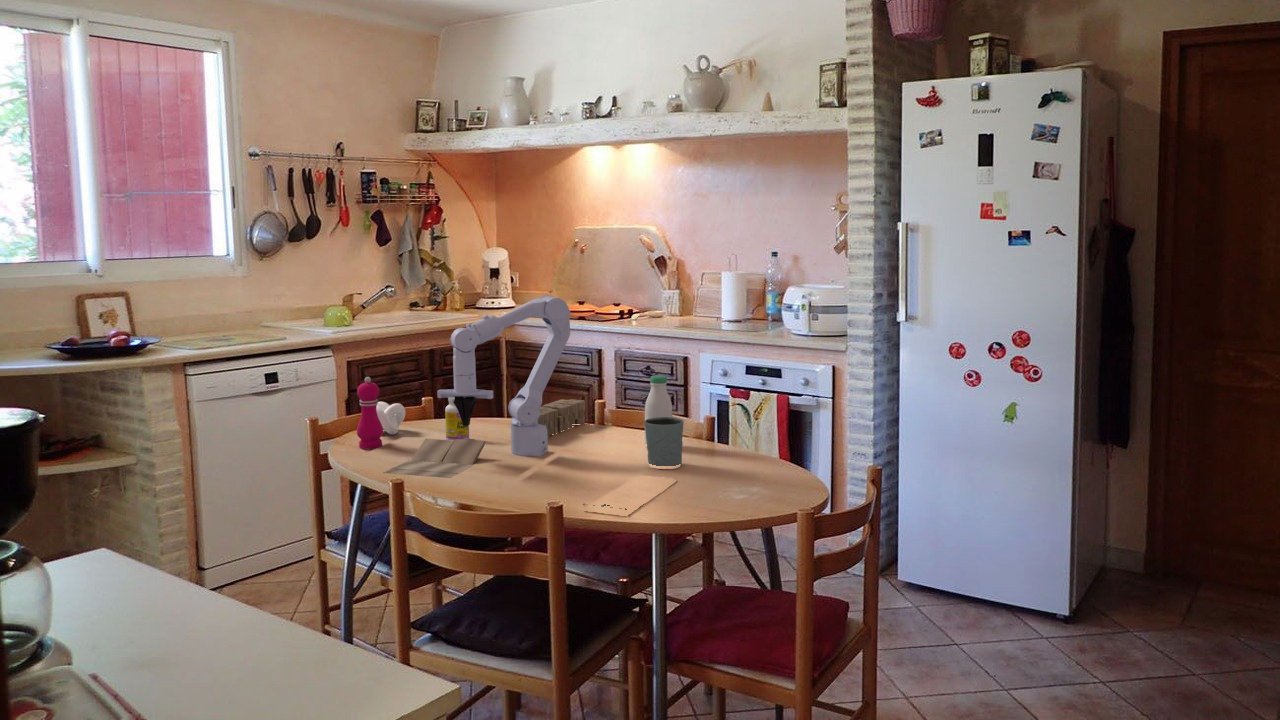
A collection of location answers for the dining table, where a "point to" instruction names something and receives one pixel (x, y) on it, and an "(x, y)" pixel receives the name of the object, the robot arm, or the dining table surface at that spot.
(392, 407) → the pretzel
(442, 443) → the plank
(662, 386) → the milk bottle
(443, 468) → the grey slab
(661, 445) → the grey-green tapered open cylinder
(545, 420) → the block tower
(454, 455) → the plank
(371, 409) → the pepper mill
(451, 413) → the supplement bottle
